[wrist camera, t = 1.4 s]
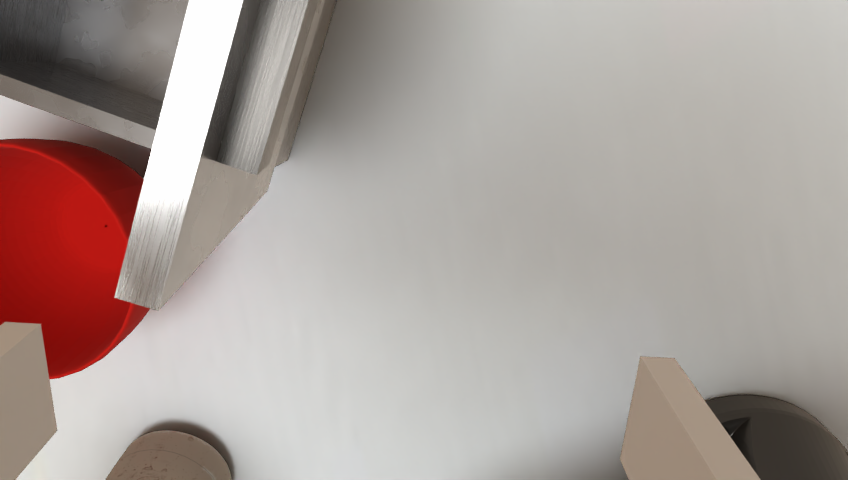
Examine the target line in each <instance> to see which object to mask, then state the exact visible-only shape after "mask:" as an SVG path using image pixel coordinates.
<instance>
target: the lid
mask: <svg viewBox="0 0 848 480" xmlns="http://www.w3.org/2000/svg"><path fill="white" fill-rule="evenodd" d="M324 3H325V0H189V3H188V7H187V11H186V15H185V19H184V23H183V27H182V31H181V35H180V39H179V43H178V47H177V51H176V55H175V59H174V63H173V67H172V71H171V75H170V79H169V82H168V86H167V90H166V94H165V98H164V102H163V106H162V110H161V114H160V118H159V122H158V126H157V130H156V134H155V138H154V142H153V146H152V150H151V154H150V158H149V162H148V166H147V170H146V173H145V177H144V181H143V185H142V189H141V193H140V197H139V201H138V205H137V209H136V213H135V217H134V221H133V225H132V229H131V233H130V237H129V241H128V245H127V249H126V253H125V257H124V260H123V264H122V268H121V272H120V276H119V280H118V284H117V288H116V292H115V296H114V298H117V299H120V300H124V301H127V302H130V303H134V304H137V305H140V306H144V307H147V308H150V309H153V310H157V311H159V310H160V309H161V307H162V306H163V305H164V304H165V303H166V302H167V301H168V300H169V299H170V298H171V296H172V295H173V294H174V293H175V292H176V291H177V290H178V289H179V288H180V287H181V285H182V284H183V283H184V282H185V281H186V280H187V279H188V278H189V277H190V276H191V275H192V273H193V272H194V271H195V270H196V269H197V268H198V267H199V266H200V265H201V264H202V262H203V261H204V260H205V259H206V258H207V257H208V256H209V255H210V254H211V253H212V251H213V250H214V249H215V248H216V247H217V246H218V245H219V244H220V243H221V242H222V240H223V239H224V238H225V237H226V236H227V235H228V234H229V233H230V232H231V231H232V229H233V228H234V227H235V226H236V225H237V224H238V223H239V222H240V221H241V220H242V218H243V217H244V216H245V215H246V214H247V213H248V212H249V211H250V210H251V209H252V207H253V206H254V205H255V204H256V203H257V202H258V201H259V200H260V199H261V198H262V196H263V195H264V194H265V193H266V192H267V190H268V187H269V184H270V181H271V177H272V174H273V171H274V167H275V164H276V161H277V158H278V154H279V151H280V148H281V144H282V141H283V138H284V134H285V131H286V128H287V125H288V121H289V118H290V115H291V111H292V108H293V105H294V102H295V98H296V95H297V92H298V88H299V85H300V82H301V79H302V75H303V72H304V69H305V65H306V62H307V59H308V56H309V52H310V49H311V46H312V42H313V39H314V36H315V32H316V29H317V26H318V23H319V19H320V16H321V13H322V9H323V6H324Z"/></svg>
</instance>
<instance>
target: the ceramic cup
mask: <svg viewBox="0 0 848 480" xmlns="http://www.w3.org/2000/svg"><path fill="white" fill-rule="evenodd" d="M143 181H144V179H143V178H142V177H141V176H140V175H139V174H138V173H137V172H136V171H134V170H133V169H132V168H130V167H129V166H127V165H126V164H124V163H123V162H122V161H120V160H119V159H117V158H115V157H112V156H110V155H108V154H106V153H104V152H102V151H100V150H97V149H95V148H91V147H87V146H84V145H80V144H76V143H72V142H67V141H60V140H44V139H4V140H0V325H2V324H3V323H4V322H15V323H34V324H41V329H42V335H43V342H44V348H45V355H46V361H47V368H48V374H49V379H56V378H61V377H64V376H67V375H70V374H73V373H76V372H79V371H82V370H83V369H85V368H87V367H89V366H90V365H92V364H94V363H96V362H97V361H99V360H101V359H102V358H104V357H105V356H106V355H107V354H108V353H109V352H110V351H112V350H113V349H114V348H115V347H116V346H117V345H118V344H119V343H120V342H121V341H122V340H123V339H125V338H126V337H127V336H128V335H129V334H130V333H131V332H132V331H133V330H134V328H135V327H136V326H137V325H138V324H139V323H140V322H141V320H142V319H143V318H144V316H145V315H146V313H147V312H148V311H149V309H150V308H147V307H144V306H140V305H137V304H134V303H130V302H127V301H124V300H120V299H117V298H114V296H115V292H116V288H117V284H118V280H119V276H120V272H121V268H122V264H123V260H124V257H125V253H126V249H127V245H128V241H129V237H130V233H131V229H132V225H133V221H134V217H135V213H136V209H137V205H138V201H139V197H140V193H141V189H142V185H143Z"/></svg>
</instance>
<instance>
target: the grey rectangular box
mask: <svg viewBox="0 0 848 480" xmlns="http://www.w3.org/2000/svg"><path fill="white" fill-rule="evenodd" d="M336 2H337V0H325V3H324V6H323V9H322V13H321V16H320V19H319V23H318V26H317V29H316V32H315V36H314V39H313V42H312V46H311V49H310V52H309V56H308V59H307V62H306V65H305V69H304V72H303V75H302V79H301V82H300V85H299V88H298V92H297V95H296V98H295V102H294V105H293V108H292V111H291V115H290V118H289V121H288V125H287V128H286V131H285V134H284V138H283V141H282V144H281V148H280V151H279V154H278V158H277V161H276V164H275V167H276V166H278V165H280V164H281V163H283V162H285V161H287V160H288V158H289V154H290V151H291V148H292V145H293V141H294V138H295V135H296V132H297V128H298V125H299V122H300V119H301V115H302V112H303V109H304V106H305V102H306V99H307V96H308V93H309V89H310V86H311V83H312V80H313V76H314V73H315V70H316V67H317V63H318V60H319V57H320V54H321V51H322V47H323V44H324V41H325V38H326V34H327V31H328V28H329V25H330V21H331V18H332V15H333V12H334V8H335V5H336ZM188 3H189V0H0V95H2V96H5V97H8V98H11V99H13V100H16V101H19V102H22V103H25V104H27V105H30V106H33V107H36V108H38V109H41V110H44V111H47V112H50V113H52V114H55V115H58V116H61V117H63V118H66V119H69V120H72V121H75V122H77V123H80V124H83V125H86V126H89V127H91V128H94V129H97V130H100V131H102V132H105V133H108V134H111V135H114V136H116V137H119V138H122V139H125V140H127V141H130V142H133V143H136V144H139V145H141V146H144V147H147V148H150V149H152V146H153V142H154V138H155V134H156V130H157V126H158V122H159V118H160V114H161V110H162V106H163V102H164V98H165V94H166V90H167V86H168V82H169V79H170V75H171V71H172V67H173V63H174V59H175V55H176V51H177V47H178V43H179V39H180V35H181V31H182V27H183V23H184V19H185V15H186V11H187V7H188Z"/></svg>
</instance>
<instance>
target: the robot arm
mask: <svg viewBox="0 0 848 480" xmlns="http://www.w3.org/2000/svg"><path fill="white" fill-rule="evenodd" d="M56 431H57V426H56V420H55V413H54V407H53V400H52V394H51V387H50V381H49V374H48V368H47V361H46V355H45V348H44V342H43V335H42V329H41V324H34V323H15V322H4V323H3V324H2V325H0V480H15V479H16V478H17V477H18V476H19V475H20V473H21V472H22V471H23V470H24V469H25V468H26V466H27V465H28V464H29V463H30V462H31V461H32V459H33V458H34V457H35V456H36V455H37V454H38V452H39V451H40V450H41V449H42V448H43V447H44V445H45V444H46V443H47V442H48V441H49V440H50V438H51V437H52V436H53V435H54V434H55V433H56ZM620 460H621V463H622V465H623V467H624V470H625V472H626V474H627V477H628V479H629V480H848V452H847V450H846V449H845V447H844V446H843V445H842V444H841V443H840V441H839V440H838V439H837V438H836V437H835V436H834V435H833V434H832V433H831V432H829V431H828V430H827V429H826V428H825V427H824V426H823V425H822V424H821V423H820V422H819V421H818V420H817V419H815V418H814V417H813V416H812V415H810V414H809V413H807V412H806V411H804V410H802V409H801V408H799V407H797V406H795V405H793V404H790V403H788V402H785V401H782V400H779V399H774V398H770V397H764V396H756V395H736V396H727V397H721V398H717V399H713V400H709V401H706V402H705V400H704V399H703V398H702V396H701V395H700V393H699V392H698V391H697V389H696V388H695V386H694V385H693V384H692V382H691V381H690V379H689V378H688V377H687V375H686V374H685V372H684V371H683V369H682V368H681V367H680V365H679V364H678V362H677V361H676V360H675V358H660V357H642V356H640V361H639V366H638V371H637V376H636V381H635V386H634V391H633V396H632V401H631V406H630V411H629V416H628V421H627V426H626V431H625V436H624V441H623V446H622V451H621V456H620Z"/></svg>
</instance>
